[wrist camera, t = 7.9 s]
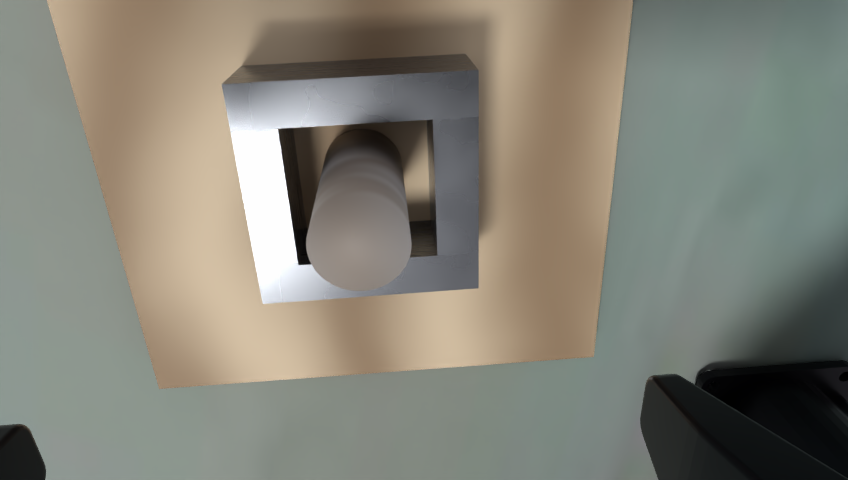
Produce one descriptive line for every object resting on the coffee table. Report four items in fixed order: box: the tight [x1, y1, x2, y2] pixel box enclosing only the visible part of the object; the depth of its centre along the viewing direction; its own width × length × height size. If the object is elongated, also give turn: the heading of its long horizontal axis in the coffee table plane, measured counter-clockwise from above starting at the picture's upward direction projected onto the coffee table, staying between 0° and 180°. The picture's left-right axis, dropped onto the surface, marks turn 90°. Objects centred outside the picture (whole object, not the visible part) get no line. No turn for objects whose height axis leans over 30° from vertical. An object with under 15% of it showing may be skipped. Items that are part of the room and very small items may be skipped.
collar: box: [222, 54, 479, 304], centre depth 18 cm, size 6×6×2 cm
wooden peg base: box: [47, 0, 633, 389], centre depth 17 cm, size 16×16×6 cm
